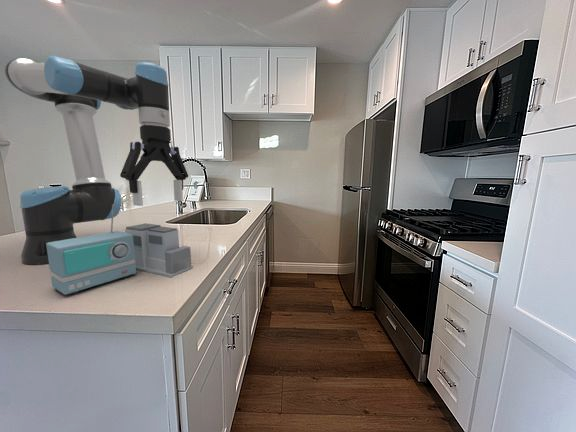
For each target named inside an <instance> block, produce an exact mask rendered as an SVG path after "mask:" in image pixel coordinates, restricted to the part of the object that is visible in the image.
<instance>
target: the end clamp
mask: <svg viewBox="0 0 576 432" xmlns="http://www.w3.org/2000/svg"><path fill="white" fill-rule="evenodd" d="M191 255H192V254H191V246H188V245H182V246H179V248H176V249H172V250H169V251H166V252H165V264H166V273H171V274H174V273H176V272H178V271H176V270H179V269H180V268H177V269H176V267H179V266H178V265H181V266H182V265H183V263H181V264H178V263H179V262H180V260H183V259H187V258H188V257H190V258H188V260H189V259H190V261H189V262H190V266H192V259H191V258H192V256H191ZM183 261H184V260H183ZM177 262H178V263H177ZM186 262H187V261H185V263H186ZM173 263H174V264H173ZM185 263H184V264H185ZM175 264H176V266H175ZM186 264H187V263H186ZM174 266H175V267H174ZM181 266H180V267H181ZM183 266H184V265H183ZM183 266H182V267H183ZM185 266H187V265H185ZM185 266H184V267H185ZM190 266H187V267H190ZM184 267H183V268H184ZM187 267H186V268H187ZM174 268H175V270H174ZM183 268H182V270H183ZM174 271H176V272H174ZM179 271H180V270H179Z"/></svg>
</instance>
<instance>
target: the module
mask: <svg viewBox="0 0 576 432" xmlns="http://www.w3.org/2000/svg"><path fill="white" fill-rule="evenodd" d="M160 226H161V227H156V228H151V229H148V231H147V241H148V254H149V257H150V258H155V259H160V260H165V252H166V251H169V250H172V249H176V248H179V247H180V240H179V239H180V237H179V229H178V228H177V227H170V226H162V225H160Z"/></svg>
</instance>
